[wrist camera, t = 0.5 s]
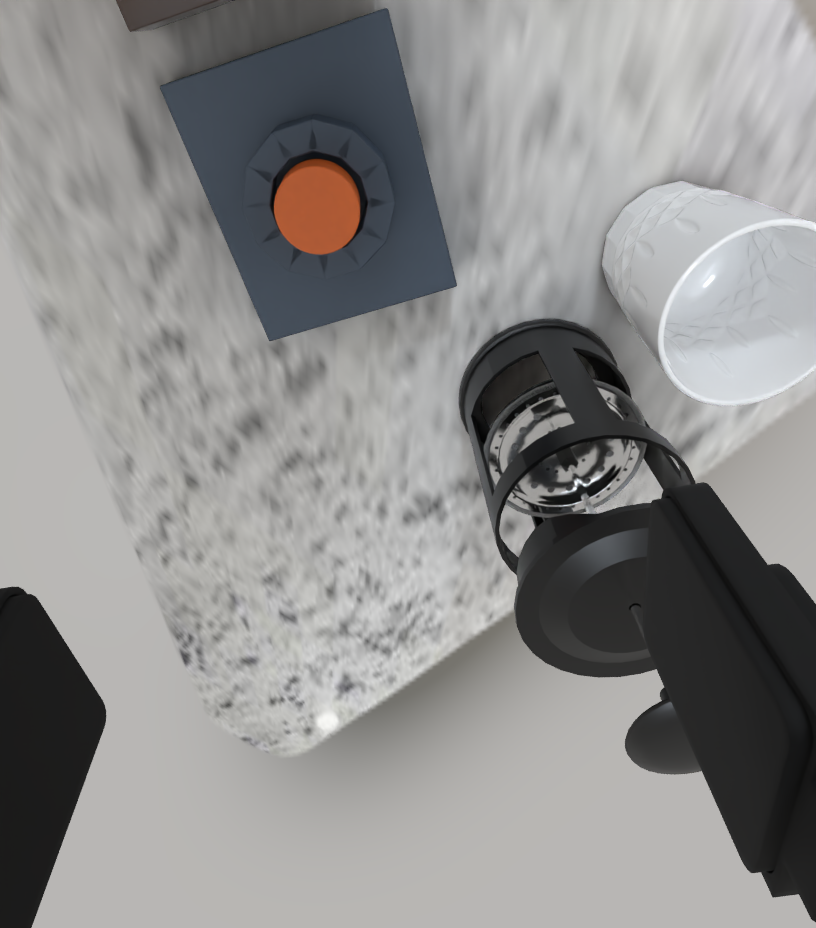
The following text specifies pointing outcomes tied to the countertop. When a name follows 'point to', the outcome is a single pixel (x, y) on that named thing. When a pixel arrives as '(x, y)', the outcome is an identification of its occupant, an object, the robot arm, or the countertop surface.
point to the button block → (317, 137)
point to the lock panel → (161, 11)
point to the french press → (577, 513)
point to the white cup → (717, 290)
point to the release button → (317, 206)
